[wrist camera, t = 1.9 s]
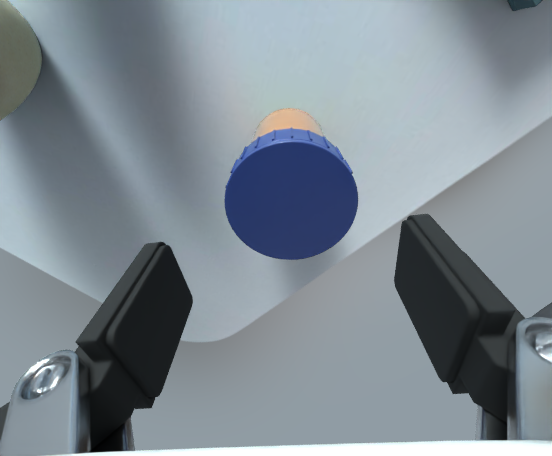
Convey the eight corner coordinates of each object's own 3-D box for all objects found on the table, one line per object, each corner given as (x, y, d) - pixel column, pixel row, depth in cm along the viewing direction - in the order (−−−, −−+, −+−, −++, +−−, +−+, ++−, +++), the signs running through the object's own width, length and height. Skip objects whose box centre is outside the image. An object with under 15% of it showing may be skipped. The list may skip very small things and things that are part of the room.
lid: (349, 118, 13) (361, 130, 11) (348, 230, 17) (357, 255, 15) (218, 136, 14) (207, 150, 12) (244, 240, 18) (239, 265, 16)
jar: (323, 102, 21) (350, 137, 12) (326, 176, 24) (349, 245, 15) (246, 114, 21) (219, 154, 13) (259, 184, 24) (245, 254, 16)
